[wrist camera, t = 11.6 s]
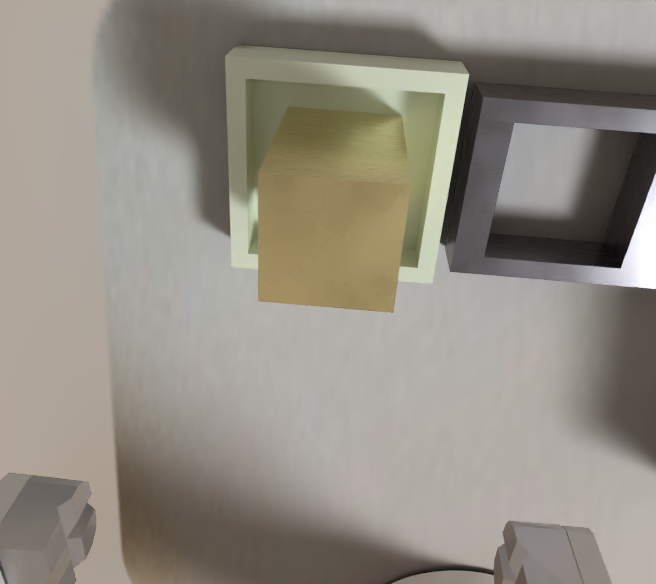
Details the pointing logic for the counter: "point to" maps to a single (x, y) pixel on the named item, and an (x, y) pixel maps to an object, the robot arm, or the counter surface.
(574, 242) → the dark grey flat frame
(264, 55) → the tray
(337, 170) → the tan rectangular block
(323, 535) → the counter surface
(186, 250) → the counter surface
